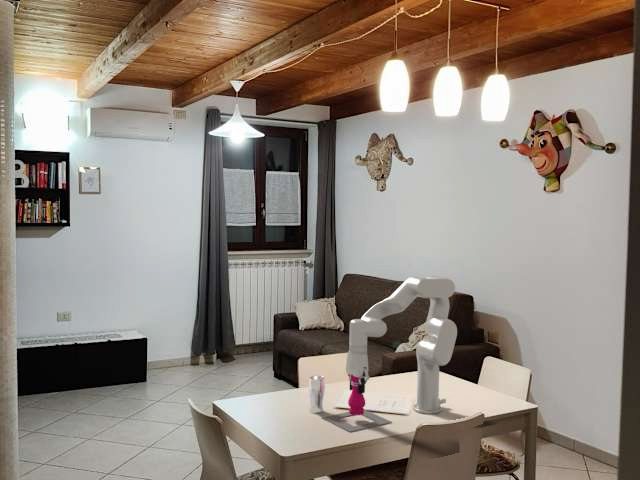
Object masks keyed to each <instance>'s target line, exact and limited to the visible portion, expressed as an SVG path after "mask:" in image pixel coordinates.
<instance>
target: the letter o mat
mask: <svg viewBox="0 0 640 480" xmlns="http://www.w3.org/2000/svg"><path fill="white" fill-rule="evenodd" d="M352 416H354V415H352V414H350V413H349V411H346V412H341V413H337V414H332V415H325V416H322V417H321V419H322V420H324V421H327V422H328V423H330V424H333V425H334V426H336V427H338V428H341V429H342V430H344V431H346V432H348V433H354V432H358V431H362V430H366V429H370V428H374V427H375V428H376V427H379V426H384V425H387V424H389V425H390V424H392V423H393V422H392V421H391V420H389V419H388V418H387V419H386V418H384V417H382V416H379V415H377V414H375V413H373V412H371V411H368V410H367V409H364V414H362V415H361V416H362V417H365V418H367V419H370V420H371V422H367V423H366V422H365V423H364V424H363V423H362V424H358V425H352V424H349V423H348V422H346V421H344V420H342V419H343V418H348V417H352Z"/></svg>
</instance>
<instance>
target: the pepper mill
mask: <svg viewBox="0 0 640 480" xmlns="http://www.w3.org/2000/svg"><path fill="white" fill-rule="evenodd" d="M362 376H363V375H362ZM350 378H351V380H352V381H351V385H352V390H351V394H350V395H349V398H348V401H347V403H348V406H349V408H348V412H349V413H350V414H352V415H353V416H362V414H364V410H365V409H364V407H365V406H366V399H365V396H364V393H361V394H358V384H359V378H357V377H355V376H353V374H351V375H350ZM362 379H363V378H361V381H362Z"/></svg>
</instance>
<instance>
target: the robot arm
mask: <svg viewBox="0 0 640 480" xmlns="http://www.w3.org/2000/svg"><path fill="white" fill-rule="evenodd" d="M455 292H456V285H455V282H454V281H453V280H452V279H450V278H447V277H442V276H437V275H428V276H426V277H421V276H416V275H413V276H412V275H411V276H409V277H408V278H406V280H404V281H403V283H402V284H401V285H399V287H397V289H396V290H394V292H392V293H391V295H390V296H388V297H387V298H384V299H383V300H382V301H379V302H377V303H376V304H374V305H373V306H372V307H370V308H369V309H368V310H367V311H366V312H365V313H364V314H363V315H362V316H361V318H355V319H352V320H350V322H349V337H348V338H349V339H348V341H349V343H348V344H349V348H348V349H349V350H348V351H347V356H346V364H345V371H346V373H347V376H348V380H349V391H352V385H351V381H352V380H351V378H350V375H351V374H353V376H355V377H357V378H359V384H358V394H361V393H362V394H365V392H366V384H367V382H368V380H370V375H369V360H368V358H369V357H368V337H371V338H373V337H374V338H380V337H382V336H384V335H385V334H386V332H387V330H388V327H387V324H386V322H384V320H383V319H384V318H385V317H387V316H388V317H389V316H391V315H395V314H399V313H402V312H404V311H405V310H406V309H407V308H408V307H409V306H410V304H412V303H413V301H414V300H415V299H416V298H418V297H419V298H423V299H429V301H430V304H429V308H428V309H429V310H428V314H427V317H426V321H425V326H424V331H425V333H426V335H428V336H429V337H432V338H434V339H436V340H434V339H429V338H426V339H422V340H420V341H419V342H418V343H417V345H416V348H415V349H416V350H415V351H416V352H415V353H416V360H417V388H416V389H417V392H416V393H417V394H416V403H415V404H414V405H413V406H412V407H413V410H414V411H415V412H418V413H421V414H428V415H433V414H440V413H441V412H442V411H443V408H442V406H441V405H442V404H446V403H447V400H446V398H441V399H440V397H439V395H440V394H439V392H440V366H441V367H442V366H446V365H447V364H448V363H449V362H450V361H451V359H452V355H453V353H454V348H455V344H456V340H457V336H458V328H457V325H456V323H455V322H454V321H453V320H451V319H448V316H449V313H450V312H449V311H450V299H449V298H450V297H452V296H453V295H454V293H455ZM362 375H363V376H362ZM361 378H363V379H362V381H361Z"/></svg>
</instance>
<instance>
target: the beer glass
mask: <svg viewBox="0 0 640 480" xmlns="http://www.w3.org/2000/svg"><path fill="white" fill-rule="evenodd" d="M325 383H326V382H325V376H322V375H311V376H309V381H308V391H309V392H308V393H309V399H310V407H309V412H310V413H311V414H321V413H323V412H324V406H323V405H324V404H323V402H324V396H325V391H326V390H325V389H326V388H325V387H326V384H325Z"/></svg>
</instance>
